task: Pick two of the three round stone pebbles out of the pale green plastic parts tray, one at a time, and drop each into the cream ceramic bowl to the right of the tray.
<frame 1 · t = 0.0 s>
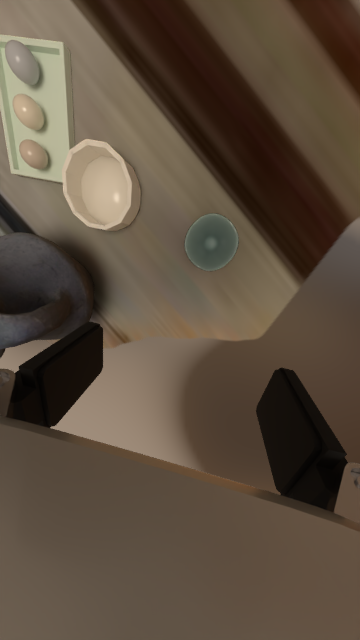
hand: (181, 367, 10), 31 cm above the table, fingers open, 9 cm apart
tray: (41, 121, 32), on the table
pitcher: (77, 282, 44), on the table
bowl: (109, 194, 35), on the table
cup: (211, 243, 36), on the table
pebble a: (34, 74, 30), resting on tray
pebble b: (39, 120, 32), resting on tray
pebble c: (43, 159, 34), resting on tray
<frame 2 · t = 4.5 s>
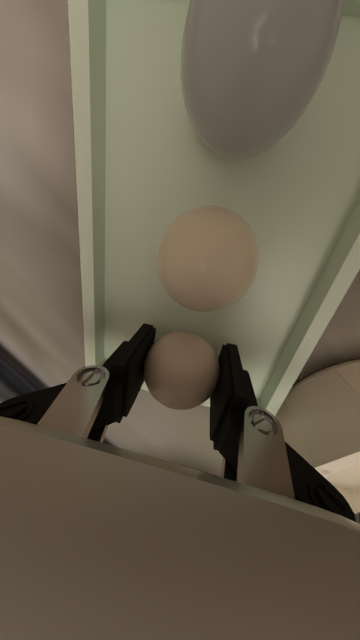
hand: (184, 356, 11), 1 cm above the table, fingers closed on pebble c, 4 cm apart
tray: (207, 258, 10), on the table
pebble a: (240, 111, 7), resting on tray
pebble b: (206, 258, 9), resting on tray
pebble c: (186, 348, 12), resting on tray, touching gripper
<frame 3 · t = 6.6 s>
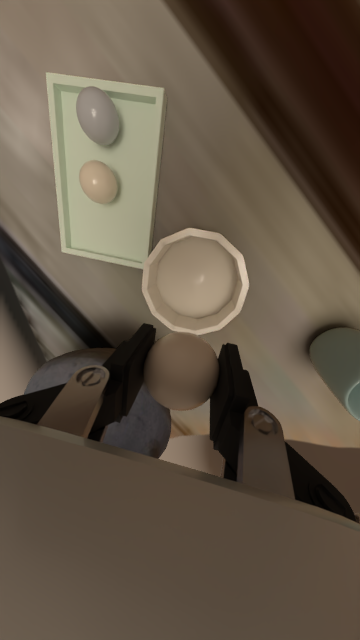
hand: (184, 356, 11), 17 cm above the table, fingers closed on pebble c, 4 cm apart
tray: (109, 188, 23), on the table
pitcher: (133, 370, 35), on the table
bowl: (195, 280, 26), on the table
cup: (330, 343, 27), on the table
pebble a: (108, 129, 20), resting on tray
pebble b: (108, 187, 23), resting on tray
pebble c: (186, 349, 12), point 16 cm above the table, touching gripper
when the fingers open (5 cm above the table, at t = 8.7 s): pebble c drops 3 cm, resting on bowl.
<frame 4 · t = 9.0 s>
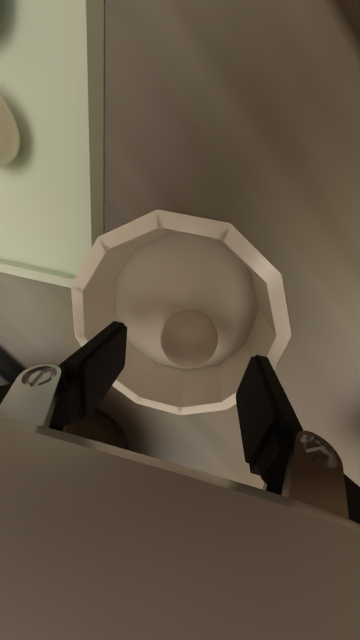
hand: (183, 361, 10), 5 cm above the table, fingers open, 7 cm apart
tray: (14, 140, 12), on the table
pitcher: (95, 431, 23), on the table
bowl: (182, 309, 15), on the table
pebble b: (8, 137, 12), resting on tray
pebble c: (191, 326, 15), resting on bowl
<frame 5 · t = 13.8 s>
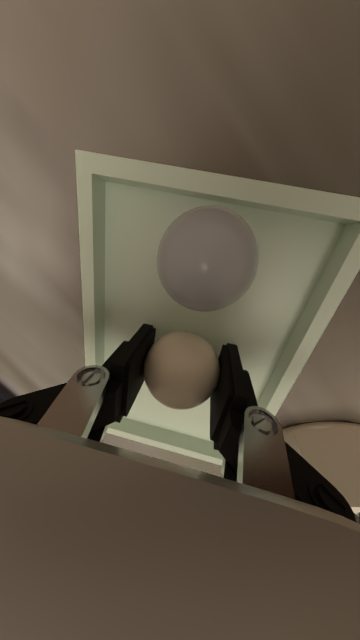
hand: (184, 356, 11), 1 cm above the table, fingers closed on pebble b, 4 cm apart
tray: (187, 345, 12), on the table
bowl: (323, 476, 15), on the table
pebble a: (206, 258, 9), resting on tray
pebble b: (186, 348, 12), resting on tray, touching gripper
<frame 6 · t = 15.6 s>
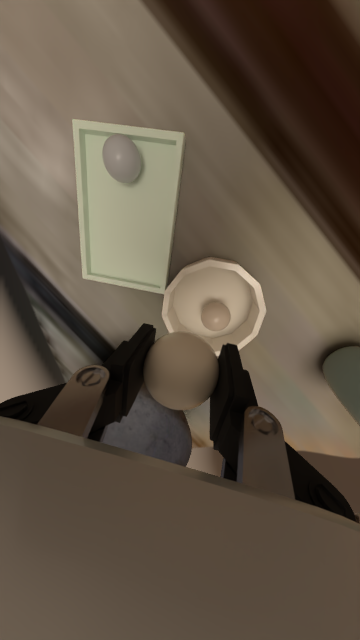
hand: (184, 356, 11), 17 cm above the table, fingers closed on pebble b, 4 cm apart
tray: (129, 219, 24), on the table
pitcher: (148, 386, 36), on the table
bowl: (211, 302, 27), on the table
cup: (342, 360, 27), on the table
pebble a: (129, 167, 22), resting on tray
pebble b: (185, 348, 12), point 16 cm above the table, touching gripper
pebble c: (216, 311, 27), point 1 cm above the table, tilted 6°, touching bowl
when the fingers open (5 cm above the table, at t = 18.0 s): pebble b drops 3 cm and tips over, resting on bowl.
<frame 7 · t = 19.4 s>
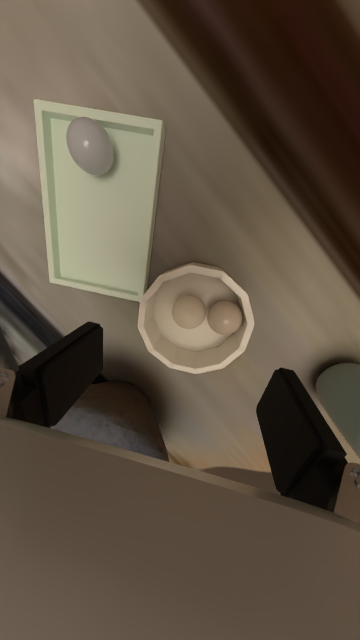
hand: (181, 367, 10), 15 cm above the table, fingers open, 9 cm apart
tray: (103, 217, 21), on the table
pitcher: (127, 402, 32), on the table
bowl: (195, 312, 24), on the table
cup: (336, 377, 25), on the table
pebble a: (102, 158, 19), resting on tray
pebble b: (195, 317, 23), point 1 cm above the table, tilted 45°, touching bowl
pebble c: (208, 324, 22), point 2 cm above the table, tilted 89°, touching bowl
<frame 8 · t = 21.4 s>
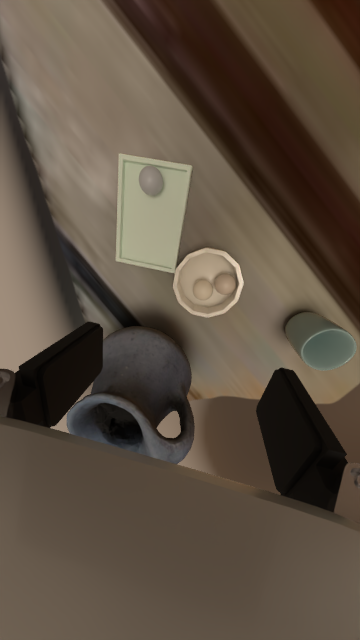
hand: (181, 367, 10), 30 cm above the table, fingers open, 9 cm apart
tray: (151, 219, 35), on the table
pitcher: (158, 347, 46), on the table
bowl: (207, 280, 38), on the table
cup: (300, 324, 38), on the table
pebble a: (154, 184, 32), resting on tray
pebble b: (207, 284, 37), point 1 cm above the table, tilted 37°, touching bowl
pebble c: (215, 288, 36), point 2 cm above the table, tilted 79°, touching bowl
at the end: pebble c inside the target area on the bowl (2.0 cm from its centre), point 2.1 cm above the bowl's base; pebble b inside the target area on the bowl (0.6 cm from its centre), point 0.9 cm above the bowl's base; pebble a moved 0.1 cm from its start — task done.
